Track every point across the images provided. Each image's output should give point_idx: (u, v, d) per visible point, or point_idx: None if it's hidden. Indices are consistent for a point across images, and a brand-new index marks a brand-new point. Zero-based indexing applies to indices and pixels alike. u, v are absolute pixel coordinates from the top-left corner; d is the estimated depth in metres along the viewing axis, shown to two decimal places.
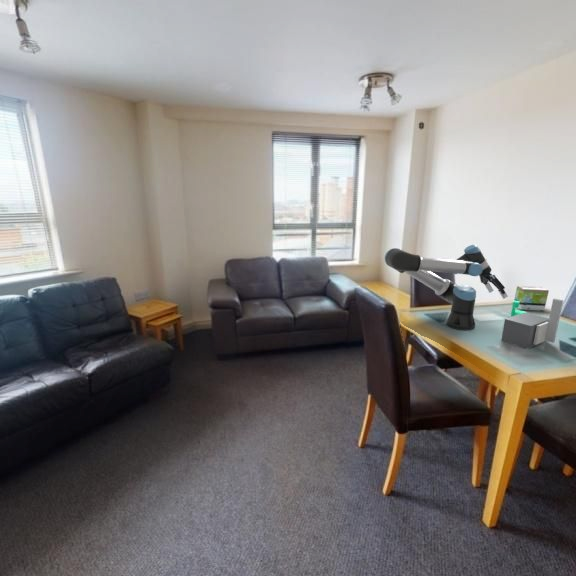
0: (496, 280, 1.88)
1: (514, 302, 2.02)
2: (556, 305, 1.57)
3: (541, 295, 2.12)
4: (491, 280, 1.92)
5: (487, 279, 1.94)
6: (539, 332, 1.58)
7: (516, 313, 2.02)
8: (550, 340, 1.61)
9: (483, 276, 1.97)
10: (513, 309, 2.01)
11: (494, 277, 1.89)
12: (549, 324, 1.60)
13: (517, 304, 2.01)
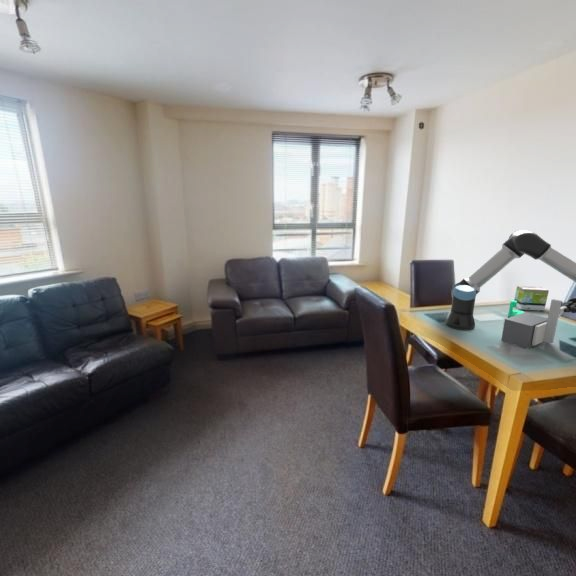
0: None
1: (511, 302, 2.03)
2: (554, 305, 1.56)
3: (541, 295, 2.12)
4: (575, 306, 1.61)
5: None
6: (537, 333, 1.57)
7: (513, 313, 2.03)
8: (548, 341, 1.60)
9: None
10: (510, 309, 2.02)
11: None
12: (547, 325, 1.59)
13: (514, 304, 2.02)
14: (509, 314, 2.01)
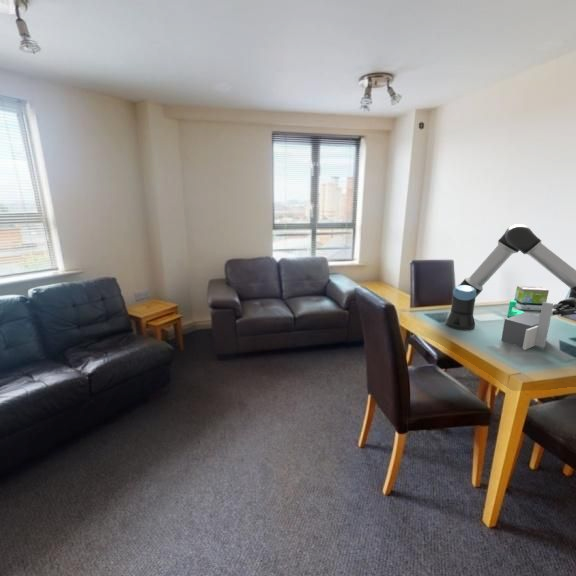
0: (572, 312, 1.55)
1: (511, 302, 2.03)
2: (545, 308, 1.52)
3: (541, 295, 2.12)
4: (565, 308, 1.58)
5: (566, 305, 1.59)
6: (528, 336, 1.53)
7: (513, 313, 2.03)
8: (540, 345, 1.56)
9: (561, 304, 1.62)
10: (510, 308, 2.02)
11: None
12: (539, 328, 1.55)
13: (514, 304, 2.02)
14: (508, 314, 2.02)
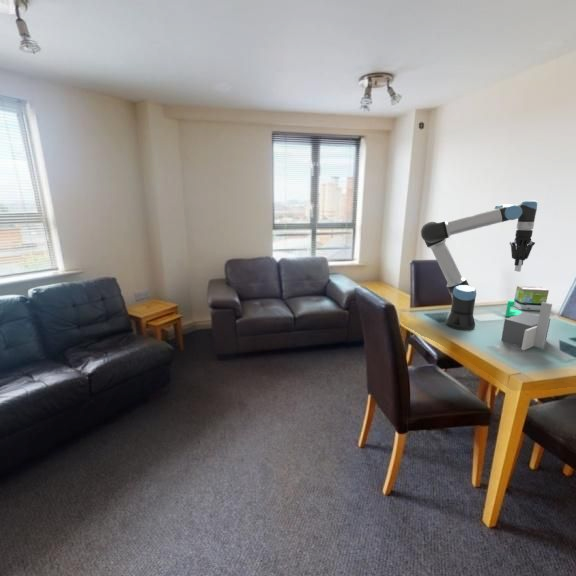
0: (512, 248, 1.80)
1: (509, 301, 2.04)
2: (544, 309, 1.51)
3: (541, 295, 2.12)
4: (517, 246, 1.80)
5: None
6: (527, 337, 1.52)
7: (511, 312, 2.04)
8: (539, 345, 1.55)
9: None
10: (508, 308, 2.03)
11: (512, 245, 1.79)
12: (538, 328, 1.55)
13: (512, 303, 2.03)
14: (506, 314, 2.02)
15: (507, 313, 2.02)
